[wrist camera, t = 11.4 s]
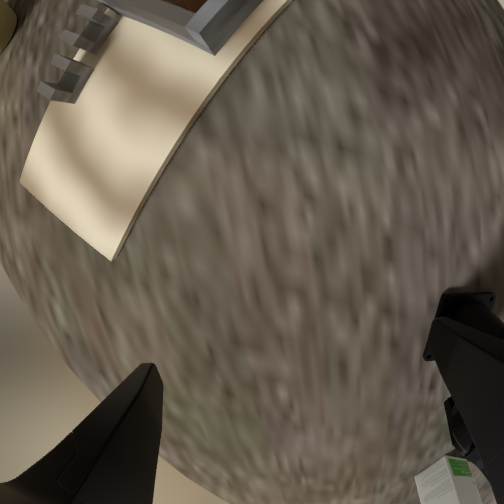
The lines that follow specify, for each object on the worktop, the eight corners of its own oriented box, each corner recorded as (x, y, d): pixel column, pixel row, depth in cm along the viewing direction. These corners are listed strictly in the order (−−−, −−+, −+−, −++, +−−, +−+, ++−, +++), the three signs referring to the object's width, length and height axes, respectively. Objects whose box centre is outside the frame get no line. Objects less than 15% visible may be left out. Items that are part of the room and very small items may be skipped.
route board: (187, -64, 12) (170, -96, 8) (313, -20, 14) (320, -58, 9) (26, 180, 20) (-13, 189, 15) (117, 257, 22) (82, 281, 17)
